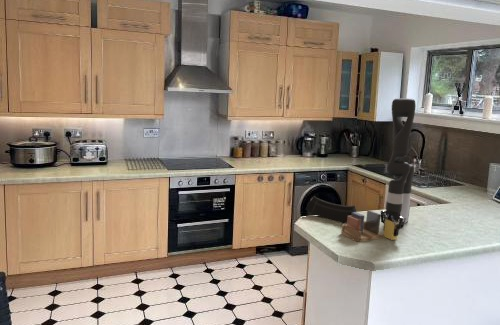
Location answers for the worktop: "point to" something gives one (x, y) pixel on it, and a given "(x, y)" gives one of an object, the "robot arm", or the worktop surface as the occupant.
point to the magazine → (329, 210)
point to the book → (389, 230)
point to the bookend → (373, 221)
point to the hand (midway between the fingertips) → (390, 233)
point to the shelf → (359, 234)
